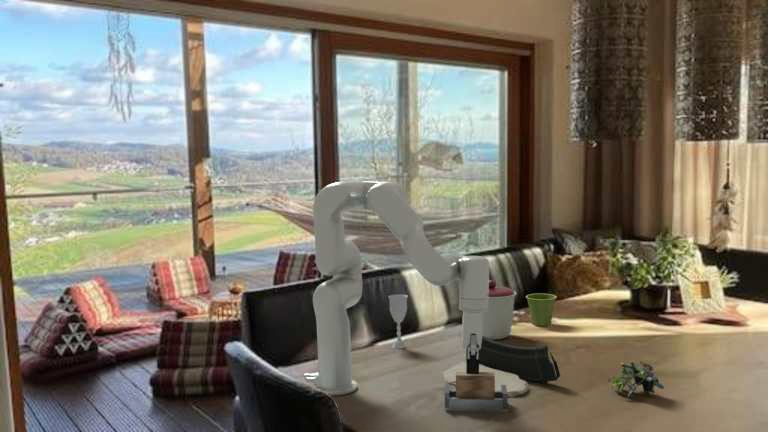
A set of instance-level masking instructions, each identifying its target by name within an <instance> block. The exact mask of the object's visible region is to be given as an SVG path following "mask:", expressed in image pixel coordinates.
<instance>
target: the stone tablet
mask: <svg viewBox="0 0 768 432" xmlns="http://www.w3.org/2000/svg"><path fill="white" fill-rule="evenodd" d="M466 364H467V361H466V360H465V361H462V362H460V363H458V364H456V365H453V366H452V367H451V368H449V369H447V370H445V371H442V376H443V380H444V382H445V383H446V384H450V386H455V387H456V372H466ZM479 372H494V375H495V391H501V385H506V389H507V397H509V398H511V397H517V396H520V395H523V394H525V393H526V392H529V385H528V382H527V380H524V379H519V376H517V375H515V374H512V373H507V372H503V371H500V370H495V369H492V368H489V367H486V366H484V365H482V364H479Z"/></svg>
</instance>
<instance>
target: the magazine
mask: <svg viewBox="0 0 768 432" xmlns="http://www.w3.org/2000/svg"><path fill="white" fill-rule="evenodd" d="M478 359H479V364H482V365H484V366H486V367H489V368H492V369H495V370H500V371H503V372H507V373H512V374H515V375H517V376H519V379H521V380H523V381H533V382H543V383H544V385H546V386H547V385H549V382H555V381H558V380H559V378H560V377H561V374H560V373H561V372H560V369H559V366H558V362H557V361H556V360H555V358H554V355H553V354H552V353H551V352H550V349H549V346H548V345H544V346H542V347H540V346H536V347H529V346H527V347H525V346H517V345H511V344H507V343H503V342H501V341H500V342H499V341H496V340H490V339H488V338H486V337H484V336H482V344H481V349H480V350H479V351H478Z"/></svg>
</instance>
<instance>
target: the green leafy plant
mask: <svg viewBox="0 0 768 432" xmlns="http://www.w3.org/2000/svg"><path fill="white" fill-rule="evenodd" d="M639 363H640V364H638V363H637V362H635V361H634V360H632V361H631V362H630V363H628V364H626V363H623V362H621V363H620V366H621V367H622V368H621V369H622V372H621V374H620V375H619V376H617V377H616V378H615V377H614V375H610V377H609V378H608V380H607V381H608V382H609V383H610V382H611V386H612V388H614V387H616V389H617V390H620V393H623V390H624V388H625V387H626V386H627V387H628V389H627V390H628V391H627V392H628V395H627V397H626V399H629V397H630V396H631V394H633V393H634V391H636V389H637V387H639V386H641V387H642V389H643V392H645V394H650V393H652V394H655V393H656V392H655V390H654V387H655V386H656V387H657V388H658V389H661V390H663V389H664V388H665V386H664V385H663V384H661V383H660V382H659V378H658V376H655V374H656V373H655V372H653V371H654V367H653V366H652V365H651V364H650V363H648V362H646V361H642V360H640V362H639ZM612 379H613V380H612ZM632 379H633V380H634V383H632V382H631V381H632ZM611 380H612V381H611Z"/></svg>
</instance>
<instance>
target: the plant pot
mask: <svg viewBox="0 0 768 432" xmlns="http://www.w3.org/2000/svg"><path fill="white" fill-rule="evenodd" d="M525 298H526V299H527V304H528V307H529V313H530V319H531V324H532V325H534V326H536V325H539V326H538V327H545V326H547V327H549V326H551V325H552V320H553V313H554V312H553V310H554V306H555V302H556V299H557V295H554V294H550V293H531V294H527V295H526V296H525ZM548 325H549V326H548Z"/></svg>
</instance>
